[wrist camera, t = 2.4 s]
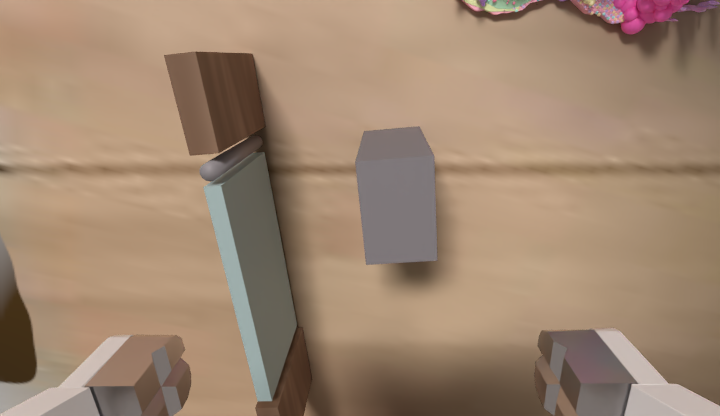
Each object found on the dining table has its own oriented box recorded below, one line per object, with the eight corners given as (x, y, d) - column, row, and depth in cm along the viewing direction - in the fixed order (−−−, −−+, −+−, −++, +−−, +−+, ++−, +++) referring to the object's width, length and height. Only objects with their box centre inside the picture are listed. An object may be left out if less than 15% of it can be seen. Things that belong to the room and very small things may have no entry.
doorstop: (419, 126, 28) (434, 155, 20) (422, 204, 30) (437, 260, 22) (363, 131, 28) (355, 161, 20) (371, 207, 30) (366, 264, 22)
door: (261, 134, 28) (215, 162, 21) (297, 324, 34) (272, 401, 27) (247, 135, 28) (197, 164, 21) (286, 325, 34) (257, 401, 27)
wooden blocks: (252, 53, 27) (195, 51, 19) (311, 378, 37) (291, 467, 29) (229, 56, 27) (164, 55, 19) (295, 379, 37) (270, 467, 29)
